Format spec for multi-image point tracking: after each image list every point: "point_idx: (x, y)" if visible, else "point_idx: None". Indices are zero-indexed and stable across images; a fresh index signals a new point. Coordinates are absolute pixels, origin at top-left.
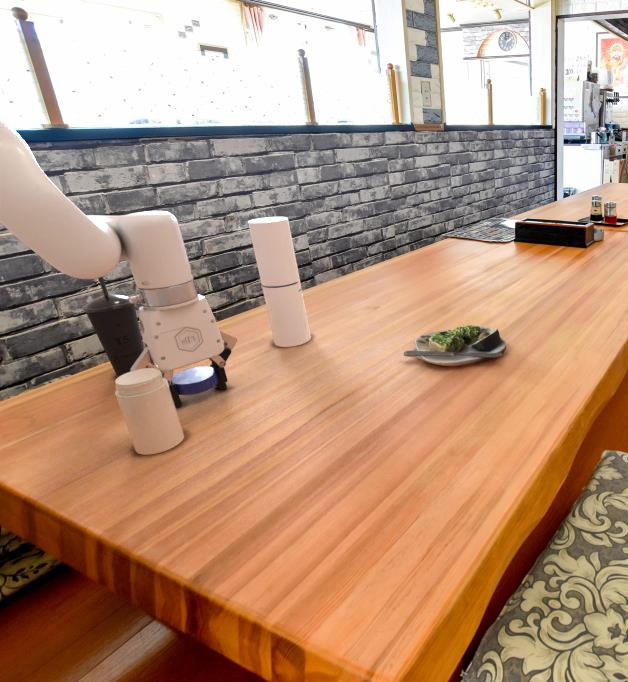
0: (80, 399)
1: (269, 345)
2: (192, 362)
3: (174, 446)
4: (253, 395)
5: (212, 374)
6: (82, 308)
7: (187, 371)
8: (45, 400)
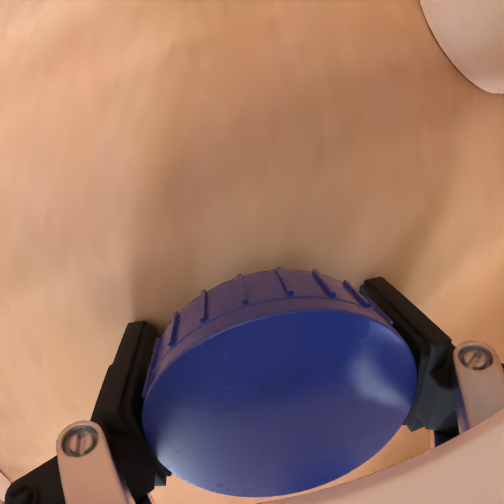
0: None
1: None
2: (376, 489)
3: None
4: (36, 139)
5: (169, 374)
6: None
7: (294, 477)
8: None
